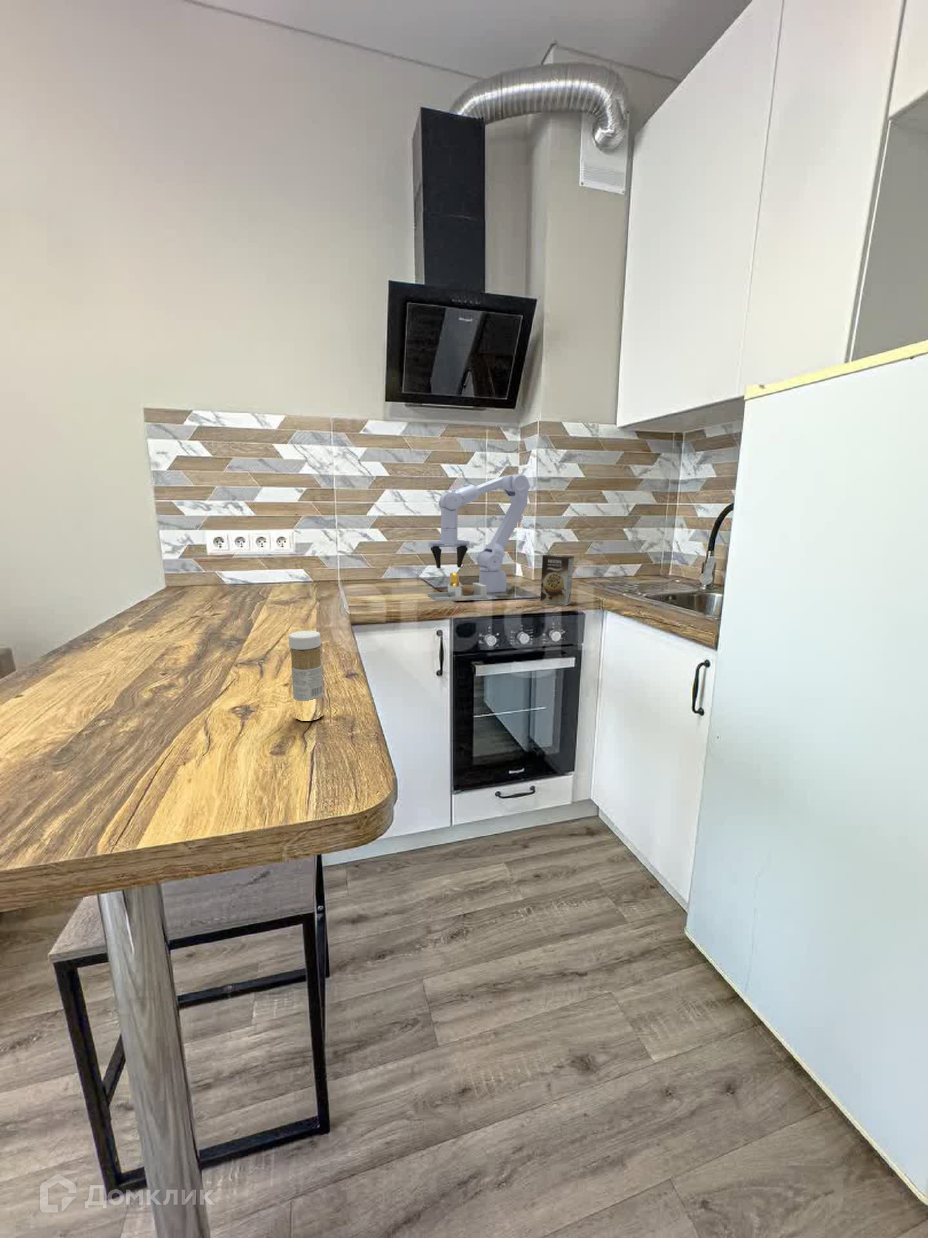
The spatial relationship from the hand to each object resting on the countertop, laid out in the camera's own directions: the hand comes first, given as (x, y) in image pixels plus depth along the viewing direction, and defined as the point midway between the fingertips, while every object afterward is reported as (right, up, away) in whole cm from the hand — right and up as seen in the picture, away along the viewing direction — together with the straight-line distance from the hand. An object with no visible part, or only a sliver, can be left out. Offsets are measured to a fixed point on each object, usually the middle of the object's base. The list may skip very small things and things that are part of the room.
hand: (448, 567), depth 184 cm
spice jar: (-19, -33, -102) cm, 109 cm away
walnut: (+7, -10, -5) cm, 13 cm away
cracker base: (+3, -12, -6) cm, 14 cm away
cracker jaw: (+2, -10, -7) cm, 13 cm away
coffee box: (+36, -13, -8) cm, 39 cm away
